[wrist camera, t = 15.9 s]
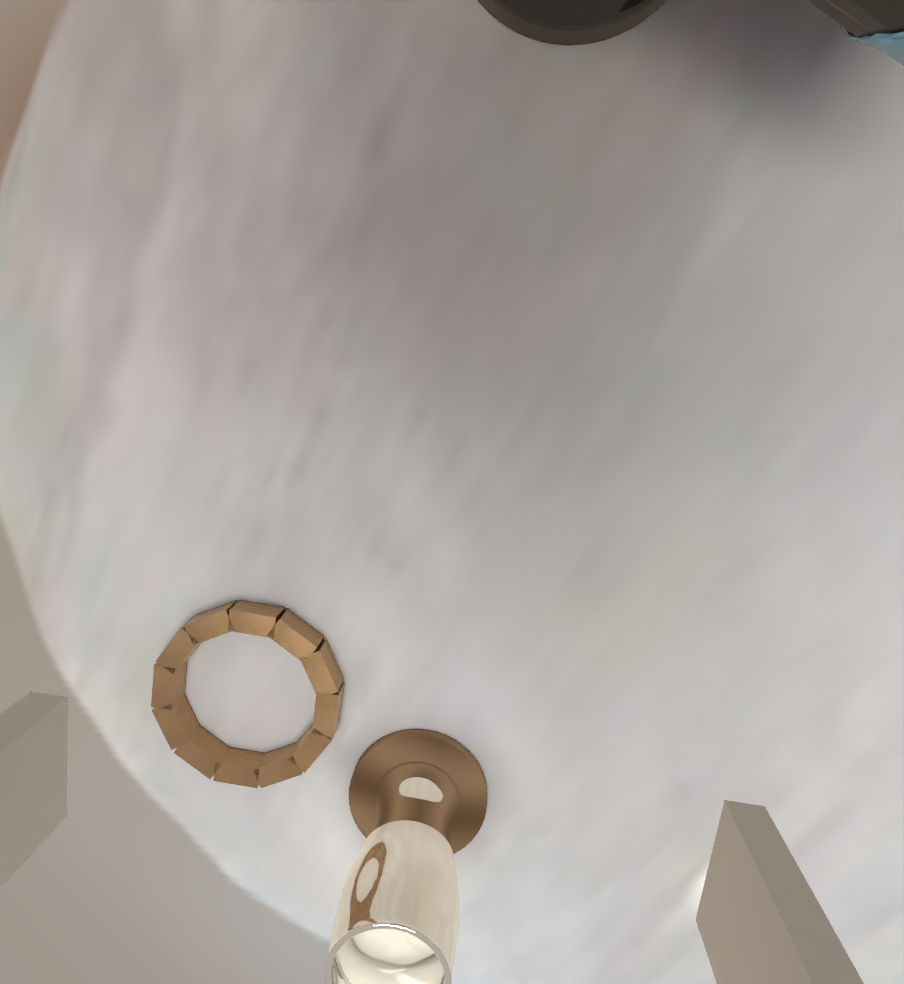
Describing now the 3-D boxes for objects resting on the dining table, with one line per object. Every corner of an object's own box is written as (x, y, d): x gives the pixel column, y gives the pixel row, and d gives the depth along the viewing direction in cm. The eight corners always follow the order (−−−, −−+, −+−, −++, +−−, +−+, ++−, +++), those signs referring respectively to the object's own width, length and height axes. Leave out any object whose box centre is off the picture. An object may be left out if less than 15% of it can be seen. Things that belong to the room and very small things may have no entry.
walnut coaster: (360, 718, 51) (357, 725, 50) (497, 741, 51) (497, 749, 50) (344, 839, 53) (341, 848, 52) (475, 862, 52) (475, 871, 51)
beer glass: (354, 817, 51) (298, 1001, 36) (394, 740, 50) (354, 898, 35) (439, 858, 51) (419, 1057, 37) (482, 782, 50) (478, 957, 35)
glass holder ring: (172, 588, 50) (159, 598, 48) (352, 618, 49) (346, 629, 47) (159, 753, 52) (146, 769, 50) (331, 783, 52) (324, 799, 50)
